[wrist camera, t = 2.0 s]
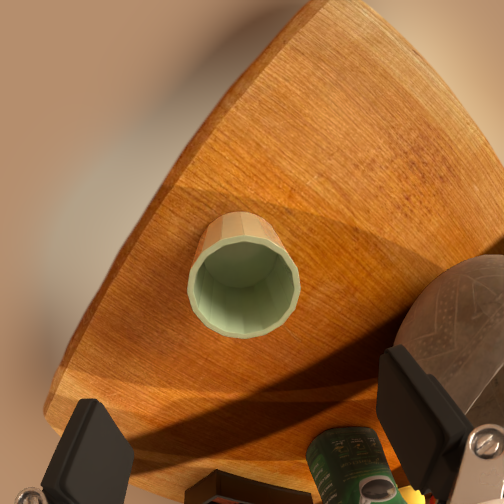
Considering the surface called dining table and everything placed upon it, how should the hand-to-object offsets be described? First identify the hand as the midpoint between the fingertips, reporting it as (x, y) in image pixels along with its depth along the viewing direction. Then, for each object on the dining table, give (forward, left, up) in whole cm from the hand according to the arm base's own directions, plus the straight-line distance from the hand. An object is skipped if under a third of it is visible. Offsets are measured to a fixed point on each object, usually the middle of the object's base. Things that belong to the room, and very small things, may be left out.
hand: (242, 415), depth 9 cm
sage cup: (0, 0, -18) cm, 18 cm away
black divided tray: (-6, -40, -18) cm, 45 cm away
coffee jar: (+8, -29, -19) cm, 36 cm away
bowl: (+21, -13, -19) cm, 31 cm away
